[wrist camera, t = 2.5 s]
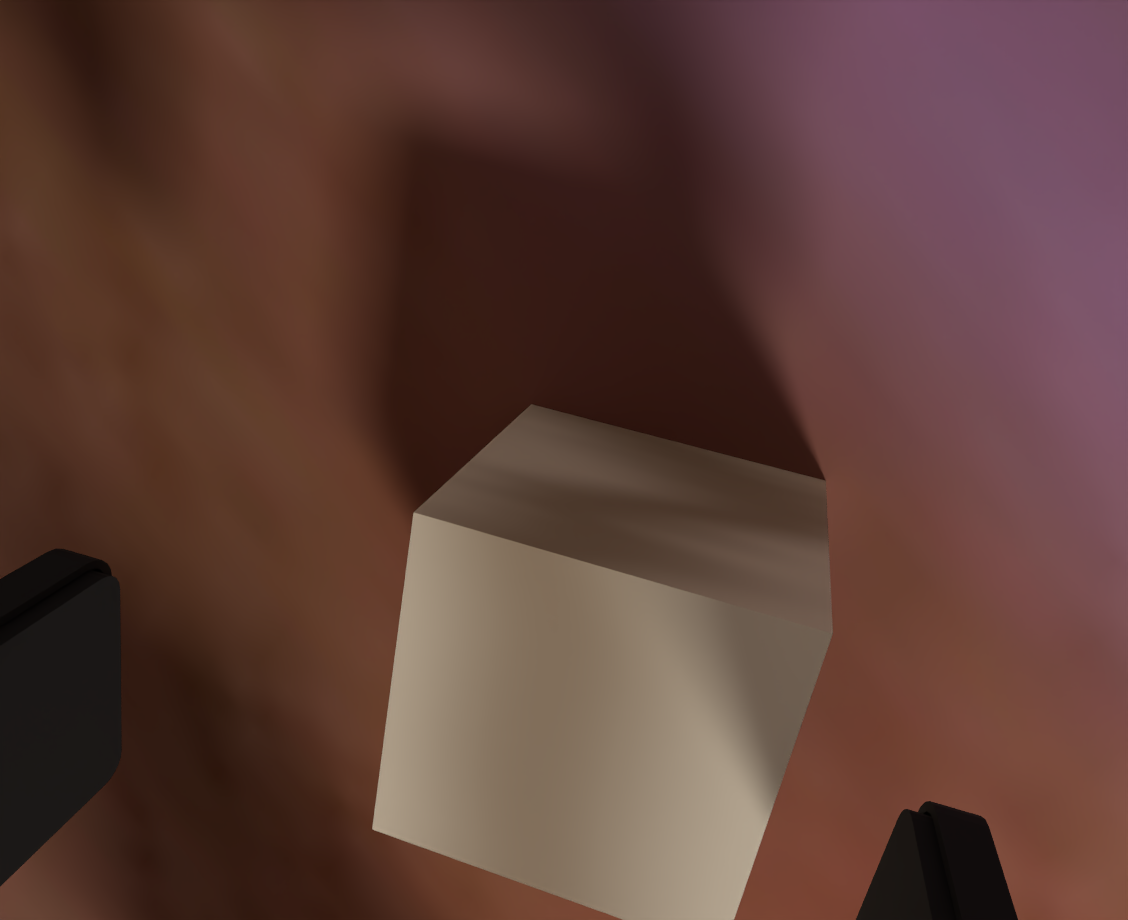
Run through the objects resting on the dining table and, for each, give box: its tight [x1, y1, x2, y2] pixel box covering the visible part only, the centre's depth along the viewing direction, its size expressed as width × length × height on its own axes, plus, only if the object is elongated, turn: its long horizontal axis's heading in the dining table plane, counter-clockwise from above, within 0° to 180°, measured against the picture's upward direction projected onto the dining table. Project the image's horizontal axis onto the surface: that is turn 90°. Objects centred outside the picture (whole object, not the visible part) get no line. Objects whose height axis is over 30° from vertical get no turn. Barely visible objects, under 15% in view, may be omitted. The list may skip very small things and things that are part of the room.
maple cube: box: [372, 404, 833, 920], centre depth 13 cm, size 5×5×5 cm
